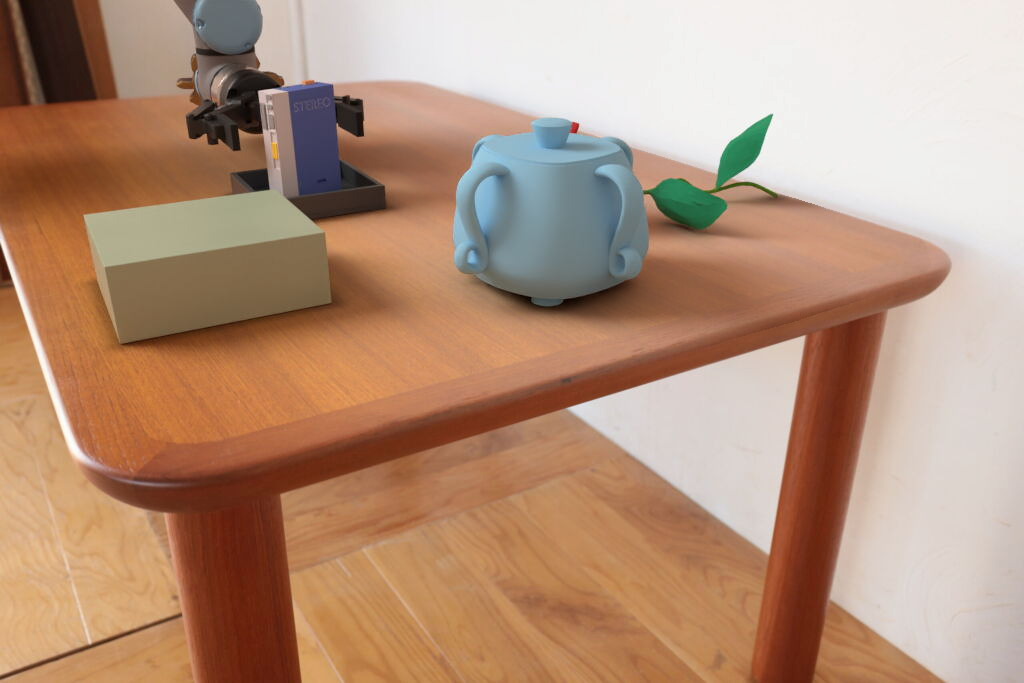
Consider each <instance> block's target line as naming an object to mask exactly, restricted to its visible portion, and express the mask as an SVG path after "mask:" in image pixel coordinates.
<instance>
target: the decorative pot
mask: <svg viewBox="0 0 1024 683" xmlns="http://www.w3.org/2000/svg"><path fill="white" fill-rule="evenodd" d="M572 122H573V121H571V120H569V119H567V118H562V117H542V118H537V119H535V120H532V121H531V122H530V123H531V128H532V131H530V132H521V133H517V134H511V135H502V134H489V135H486V136H484V137H482V138H480V139H479V140H478V141H477V142H476V143H475V144H474V146H473V149H472V152H471V165H470V168H469V169H467V171H465V172H464V174H462V176H461V177H460V180H459V181H458V183H457V186H456V191H455V203H456V206H455V212H454V218H453V227H452V243H453V247H454V250H455V251H454V254H453V262H454V266H455V267H456V269H457V270H458V271H459V272H460V273H462V274H465V275H470V276H475V277H477V278H478V279H479V280H481V281H482V282H484V283H486V284H488V285H490V286H492V287H494V288H497V289H500V290H503V291H506V292H510V293H513V294H517V295H522V296H524V297H531V298H530V301H531V303H533V304H535V305H537V306H541V307H553V306H558V305H560V304H562V303H563V302H564V300H567V299H574V298H579V297H584V296H587V295H591V294H595V293H598V292H601V291H604V290H607V289H610V288H612V287H615V286H617V285H619V284H622V283H623V282H625V281H628V280H633V279H635V278H636V277H638V276H639V274H641V272H642V269H643V262H644V261H645V259H646V257H647V254H648V252H649V249H650V231H649V222H648V215H647V214H648V213H647V210H646V205H645V195H644V194H643V186H642V184H641V182H640V180H639V178H638V177H637V176H636V175H635V173H634V170H633V168H634V154H633V151H632V149H631V147H630V145H629V144H628V143H627V142H625V141H624V140H622V139H620V138H618V137H614V136H602V137H596V136H595V137H594V136H590V135H585V134H581V133H577V134H574V133H570V131H571V128H572Z"/></svg>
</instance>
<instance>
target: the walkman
mask: <svg viewBox="0 0 1024 683" xmlns="http://www.w3.org/2000/svg"><path fill="white" fill-rule="evenodd" d="M258 94H259V103H260V111H261V119H262V128H263V134H262V136H263V144H264V152H265V160H266V168H267V170H268V178H269V187H270V190H274V189H276V190H277V191H278V192H279V193H281V194H282V195H283V196H284V197H285V198H286V197H294V196H301V195H308V194H315V193H323V192H330V191H337V190H342V184H341V172H340V160H339V159H340V150H339V137H338V123H336V113H335V101H334V96H335V89H334V84H333V83H329V82H328V83H326V82H321V81H315V79H305V80H302V81H301V84H300V83H299V84H294V85H286V86H282V87H280V88H274V89H268V90H261V91H258Z"/></svg>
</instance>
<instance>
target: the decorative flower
mask: <svg viewBox="0 0 1024 683" xmlns="http://www.w3.org/2000/svg"><path fill="white" fill-rule="evenodd" d="M773 117H774V113H770V114H768V115H766V116H765V117H763V118H761V119H760V120H758V121H756V122H754V123H753V124H751V125H750V126H749V127H747V128H746V129H745V130H743V132H741V133H740V134H739V135H738V136H736V137H734V138H732V139H731V140H730V141H728V143H727V145H726V146H725V148H724V150H723V152H722V153H721V156H720V159H719V163H718V164H719V165H718V169H717V175H716V181H715V187H714V188H713V189H706V190H703V189H701V188H699V187H697V186H694V185H693V184H692V183H691V182H690V181H687V180H686V179H685V178H683V177H679V178H672V177H670V178H666V179H663V180H661V181H660V182H659V183H658V184H656V186H655V187H653V188H650V189H645V190H643V194H644V196H645V195H650V197H651V198H652V199H653V201H654V203H655V206H656V208H657V209H658V211H660V213H661V214H663V215H664V216H665V217H666V218H668V219H670V220H672V221H674V222H675V223H677V224H679V225H683V226H687V227H689V228H693V229H695V230H699V231H701V230H704V229H705V230H706V229H707V228H708V227H710V226H712V225H713V224H714V223H715V222H716V221H717V220H718V219H719V218H720V217H721V216H722V215H723V214H724V213H725V212H726V210H727V209H728V202H726V200H725V199H723V198H722V197H719V196H717V195H714V194H717V193H719V192H722V191H725V190H729V189H733V188H737V187H753V188H755V189H758V190H761V191H763V192H764V193H766V194H768V195H769V196H772V197H774V198H778V197H779V196H778V194H777V193H776V192H774V191H772V190H770V189H768V188H767V187H765V186H763V185H760V184H759V183H756V182H752V181H739V182H734V183H730V184H727V185H725V184H726V183H727V182H728V181H729V180H731V179H732V178H734V177H736V176H737V175H739V174H741V173H742V172H744V171H745V170H747V169H748V168H749V167H750V166H752V165H753V164H754V163H755V162H756V161H757V159H758V157H759V156H760V154H761V151H762V148H763V145H764V143H765V142H764V141H765V138H766V135H767V133H768V130H769V127H770V126H771V123H772V119H773ZM571 122H572V128H571V131H570V133H574V134H578V131H579V128H580V123H579V122H576V121H571Z"/></svg>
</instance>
